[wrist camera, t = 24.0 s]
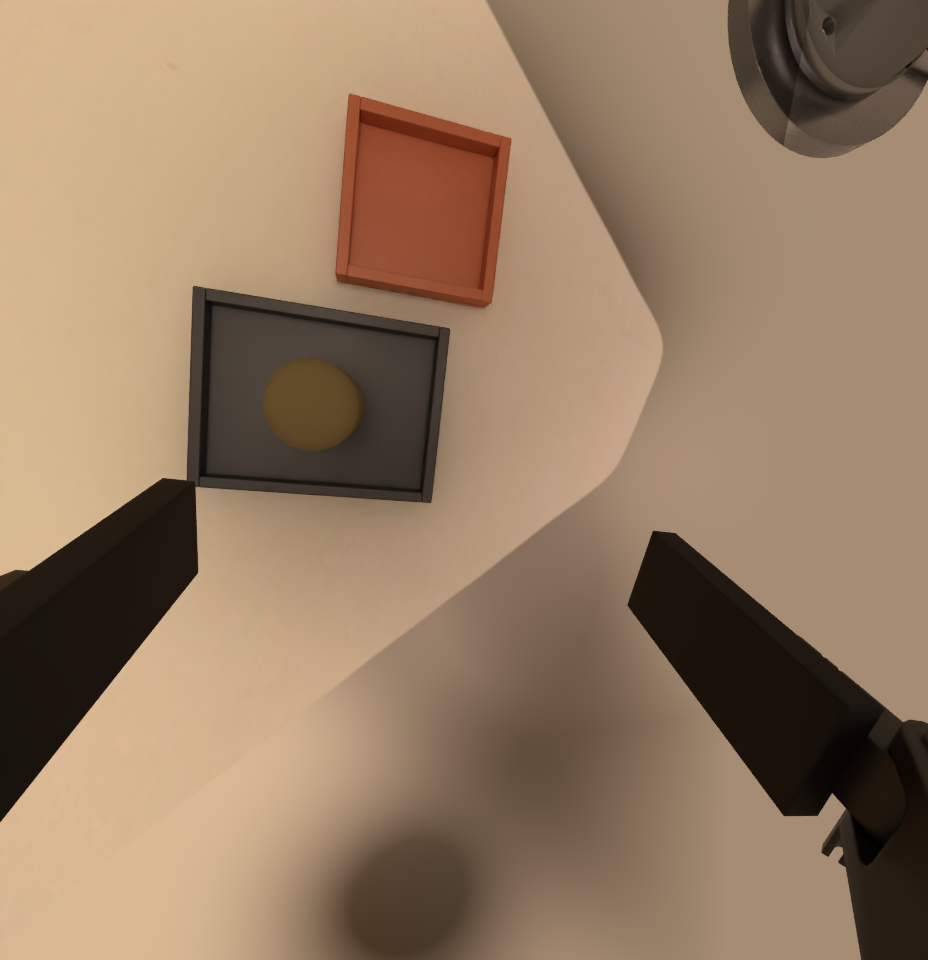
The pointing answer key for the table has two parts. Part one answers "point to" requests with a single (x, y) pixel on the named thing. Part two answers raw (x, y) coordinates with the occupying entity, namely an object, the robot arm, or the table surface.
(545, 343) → the table surface
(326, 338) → the charcoal tray
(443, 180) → the terracotta tray
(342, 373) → the cork
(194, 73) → the table surface
